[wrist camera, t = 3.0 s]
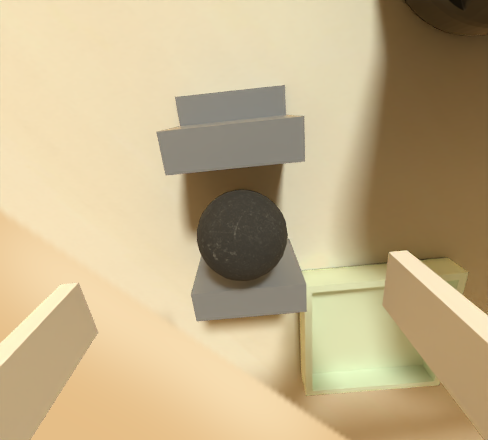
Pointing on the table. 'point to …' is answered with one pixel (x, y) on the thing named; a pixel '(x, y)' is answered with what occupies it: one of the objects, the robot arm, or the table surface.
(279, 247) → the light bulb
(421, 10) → the robot arm
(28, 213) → the table surface
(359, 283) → the tray
